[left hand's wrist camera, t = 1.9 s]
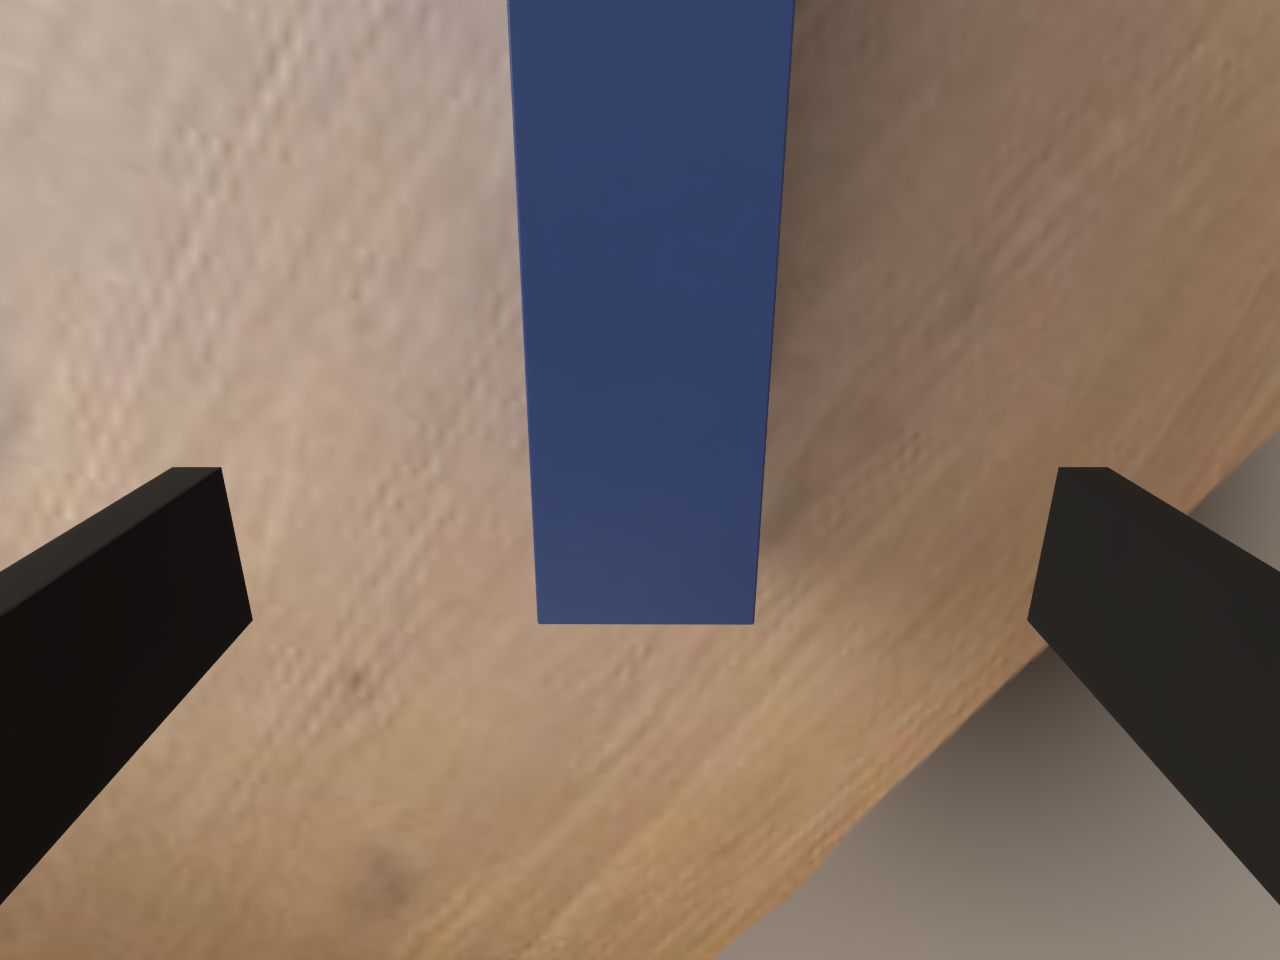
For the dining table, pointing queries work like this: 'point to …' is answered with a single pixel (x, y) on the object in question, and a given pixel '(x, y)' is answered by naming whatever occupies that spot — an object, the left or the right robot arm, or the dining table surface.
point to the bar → (648, 297)
